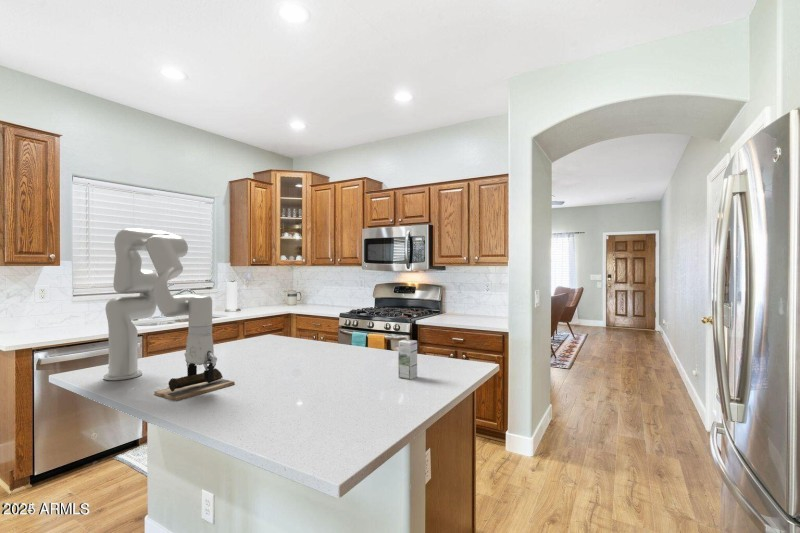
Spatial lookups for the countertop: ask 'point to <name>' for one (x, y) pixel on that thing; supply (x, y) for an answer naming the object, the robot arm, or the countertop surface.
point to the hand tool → (192, 380)
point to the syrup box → (407, 359)
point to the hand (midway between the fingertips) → (200, 379)
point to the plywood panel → (193, 389)
